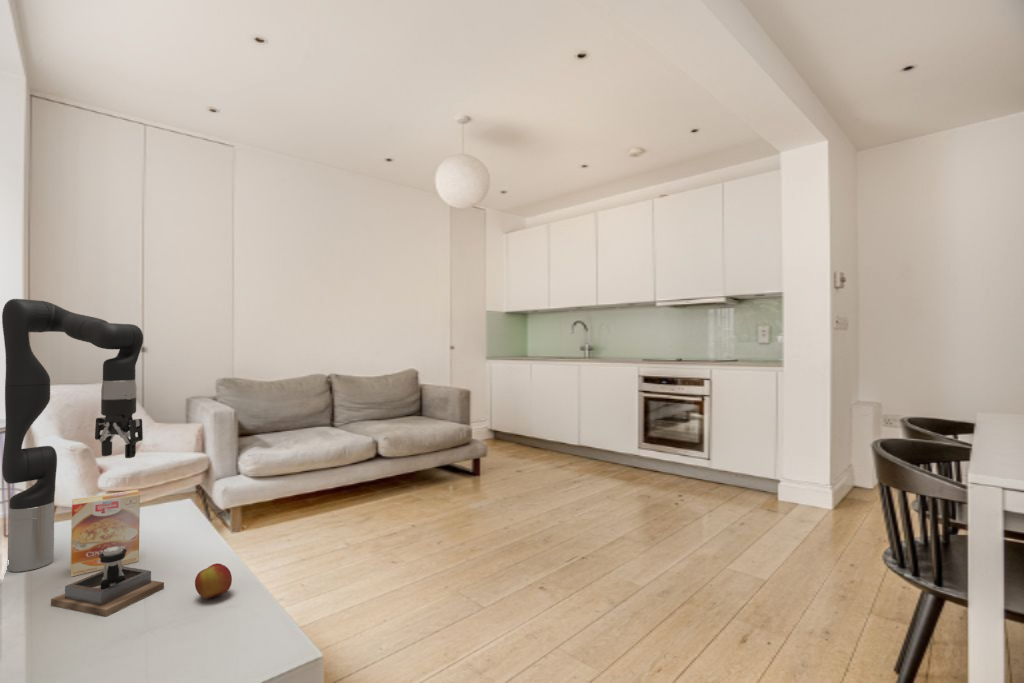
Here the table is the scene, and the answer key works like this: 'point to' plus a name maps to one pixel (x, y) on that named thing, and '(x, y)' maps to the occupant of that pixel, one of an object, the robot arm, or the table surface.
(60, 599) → the mounting board
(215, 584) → the apple
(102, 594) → the socket
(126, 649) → the table surface
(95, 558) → the coffeecake box
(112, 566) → the push button
